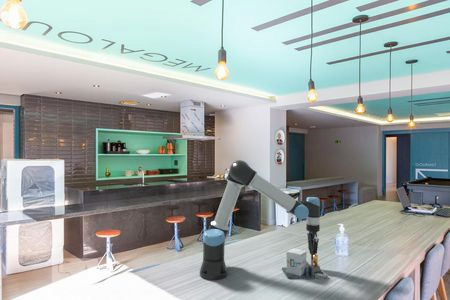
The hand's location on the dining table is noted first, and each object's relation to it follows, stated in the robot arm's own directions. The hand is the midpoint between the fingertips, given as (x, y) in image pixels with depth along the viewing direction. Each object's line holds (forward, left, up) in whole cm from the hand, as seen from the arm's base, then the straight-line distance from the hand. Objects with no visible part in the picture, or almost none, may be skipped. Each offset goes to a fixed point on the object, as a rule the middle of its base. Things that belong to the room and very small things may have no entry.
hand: (312, 264), depth 179 cm
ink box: (-12, -8, -1) cm, 15 cm away
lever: (0, -5, -2) cm, 5 cm away
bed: (-12, -8, -2) cm, 15 cm away
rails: (0, -7, -2) cm, 7 cm away
